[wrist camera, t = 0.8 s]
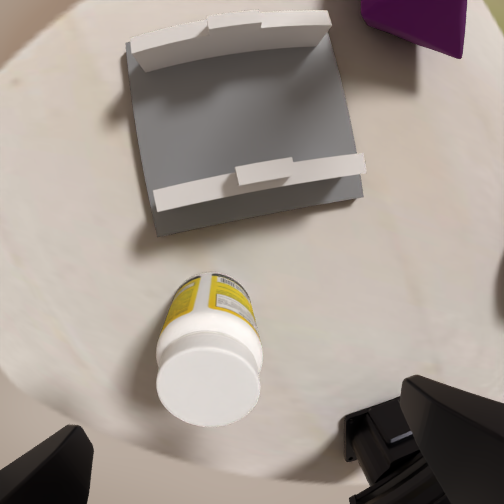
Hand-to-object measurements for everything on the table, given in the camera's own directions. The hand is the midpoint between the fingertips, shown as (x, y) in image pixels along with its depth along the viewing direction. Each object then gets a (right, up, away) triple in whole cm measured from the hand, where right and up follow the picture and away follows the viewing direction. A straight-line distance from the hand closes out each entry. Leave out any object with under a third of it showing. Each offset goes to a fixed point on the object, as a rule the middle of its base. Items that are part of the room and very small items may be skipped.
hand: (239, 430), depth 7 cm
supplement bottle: (-2, +1, +12) cm, 12 cm away
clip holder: (0, +12, +10) cm, 16 cm away
